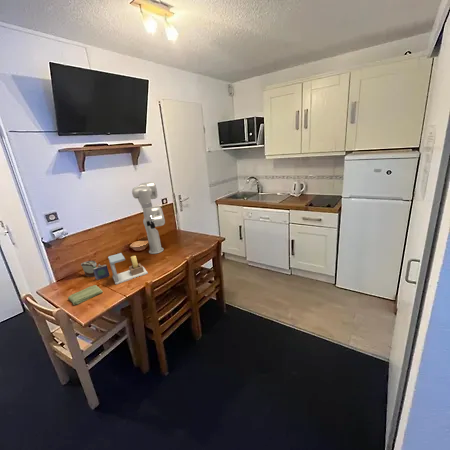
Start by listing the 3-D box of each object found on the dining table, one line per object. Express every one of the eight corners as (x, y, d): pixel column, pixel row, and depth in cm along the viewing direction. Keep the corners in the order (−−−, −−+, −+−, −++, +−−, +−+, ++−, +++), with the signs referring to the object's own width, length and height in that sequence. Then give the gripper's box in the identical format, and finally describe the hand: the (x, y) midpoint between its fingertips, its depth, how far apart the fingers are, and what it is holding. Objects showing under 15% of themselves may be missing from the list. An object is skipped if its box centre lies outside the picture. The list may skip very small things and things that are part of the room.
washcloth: (104, 293, 161) (103, 288, 160) (74, 307, 149) (73, 302, 148) (96, 287, 170) (95, 282, 169) (67, 299, 158) (66, 295, 157)
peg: (133, 271, 183) (130, 256, 179) (138, 269, 185) (135, 255, 181) (134, 273, 180) (131, 258, 176) (139, 271, 182) (136, 256, 178)
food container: (103, 272, 189) (99, 260, 186) (96, 276, 184) (93, 264, 181) (90, 271, 193) (87, 259, 190) (84, 275, 188) (80, 263, 185)
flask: (96, 280, 178) (92, 267, 175) (95, 279, 180) (91, 265, 177) (110, 276, 182) (106, 263, 179) (109, 274, 184) (105, 261, 181)
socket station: (112, 276, 181) (107, 256, 176) (142, 266, 191) (138, 247, 186) (115, 284, 169) (110, 263, 164) (147, 273, 180) (143, 253, 175)
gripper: (138, 204, 192) (143, 225, 197) (144, 208, 177) (149, 230, 183) (148, 202, 195) (152, 223, 200) (155, 206, 181) (159, 228, 186)
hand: (151, 227), depth 191 cm, fingers open, 9 cm apart
